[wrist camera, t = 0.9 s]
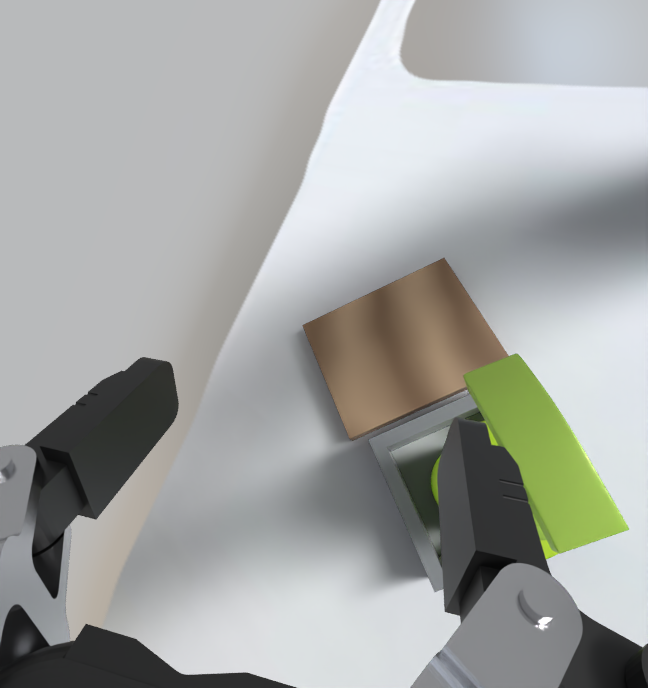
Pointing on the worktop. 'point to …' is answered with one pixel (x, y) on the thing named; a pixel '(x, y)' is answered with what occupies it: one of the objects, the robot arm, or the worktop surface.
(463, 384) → the board
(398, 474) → the tray
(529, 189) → the worktop surface
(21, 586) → the robot arm
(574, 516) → the soap dispenser
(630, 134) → the worktop surface
